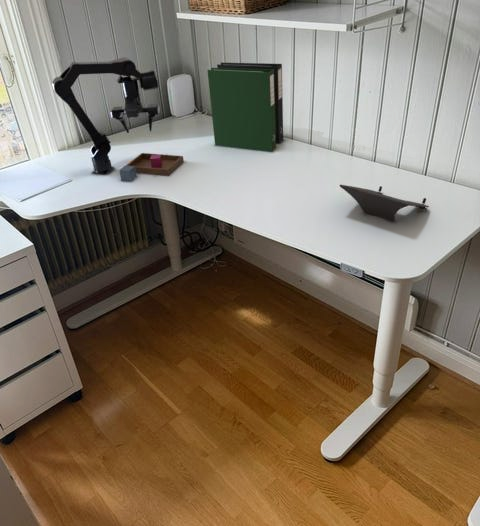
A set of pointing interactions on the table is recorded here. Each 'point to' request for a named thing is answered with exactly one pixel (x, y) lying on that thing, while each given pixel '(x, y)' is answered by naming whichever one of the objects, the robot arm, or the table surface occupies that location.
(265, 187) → the table surface
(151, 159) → the mulberry block
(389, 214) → the laptop tray
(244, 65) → the binder
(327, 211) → the table surface
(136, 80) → the robot arm
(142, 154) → the tray
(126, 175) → the slate block
